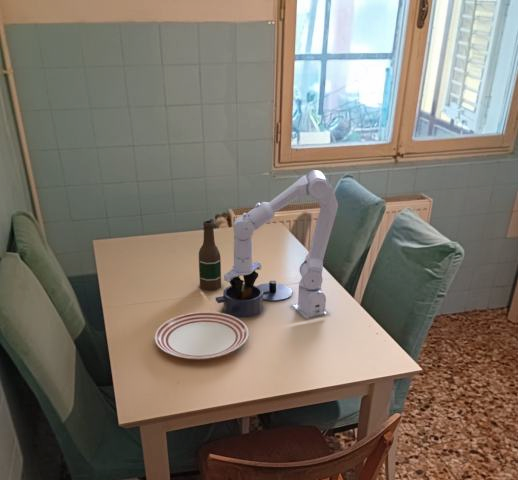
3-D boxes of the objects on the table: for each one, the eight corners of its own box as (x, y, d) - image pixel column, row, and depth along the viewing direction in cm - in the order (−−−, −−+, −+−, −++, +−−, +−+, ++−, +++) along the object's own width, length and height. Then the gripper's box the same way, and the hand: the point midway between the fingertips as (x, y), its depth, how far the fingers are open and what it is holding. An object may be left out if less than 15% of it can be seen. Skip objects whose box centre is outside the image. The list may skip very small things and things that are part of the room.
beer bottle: (218, 293, 196) (216, 226, 183) (196, 291, 197) (193, 224, 185) (224, 284, 202) (222, 219, 190) (203, 282, 204) (200, 217, 191)
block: (251, 299, 184) (251, 288, 182) (242, 303, 181) (242, 291, 179) (243, 295, 186) (243, 284, 184) (234, 299, 184) (234, 287, 181)
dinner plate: (143, 362, 158) (141, 352, 156) (169, 316, 181) (169, 307, 179) (240, 371, 155) (240, 361, 153) (254, 323, 178) (254, 314, 176)
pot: (276, 313, 184) (276, 295, 181) (224, 323, 178) (223, 305, 174) (260, 297, 194) (260, 280, 190) (210, 306, 187) (209, 289, 184)
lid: (299, 299, 193) (299, 286, 191) (262, 306, 188) (263, 293, 186) (281, 283, 204) (281, 271, 201) (246, 289, 199) (246, 277, 196)
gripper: (250, 246, 183) (250, 284, 190) (216, 258, 174) (217, 298, 181) (266, 252, 178) (265, 291, 185) (232, 265, 170) (233, 305, 177)
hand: (243, 295), depth 183 cm, fingers closed on block, 4 cm apart
